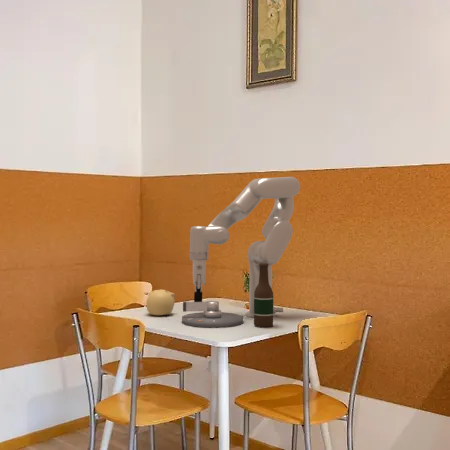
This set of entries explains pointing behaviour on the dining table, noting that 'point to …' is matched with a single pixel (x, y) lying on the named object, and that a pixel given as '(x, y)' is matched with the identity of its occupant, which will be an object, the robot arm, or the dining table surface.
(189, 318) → the dial plate
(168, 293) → the sculpture
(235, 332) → the dining table surface
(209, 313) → the dial
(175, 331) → the dining table surface
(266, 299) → the beer bottle
